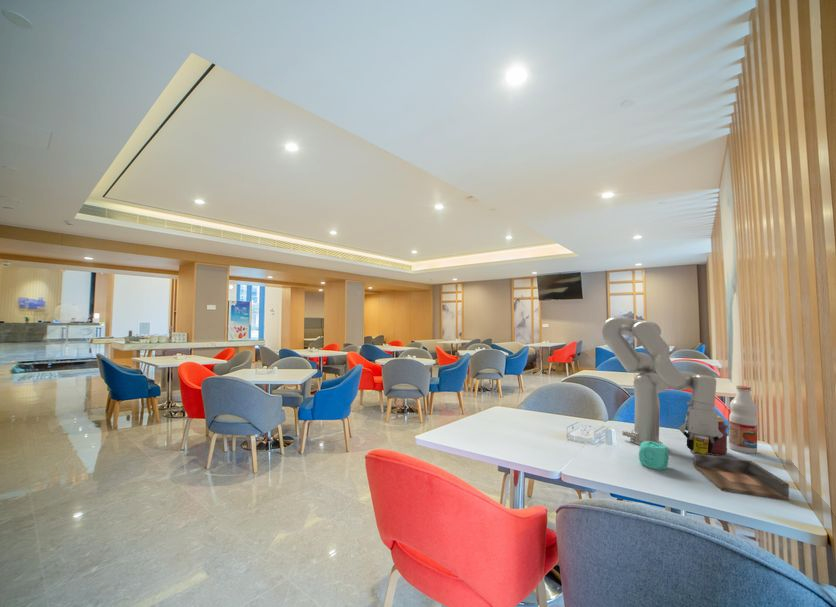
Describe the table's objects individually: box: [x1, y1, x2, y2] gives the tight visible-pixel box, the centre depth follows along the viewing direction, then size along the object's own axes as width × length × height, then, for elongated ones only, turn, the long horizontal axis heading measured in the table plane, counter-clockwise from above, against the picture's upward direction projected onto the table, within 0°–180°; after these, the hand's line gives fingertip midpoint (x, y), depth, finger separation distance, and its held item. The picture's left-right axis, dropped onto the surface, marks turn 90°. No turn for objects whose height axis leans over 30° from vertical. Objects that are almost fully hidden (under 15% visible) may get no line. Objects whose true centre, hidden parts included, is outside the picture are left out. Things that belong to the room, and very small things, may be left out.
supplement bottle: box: [689, 434, 709, 456], centre depth 149 cm, size 6×6×10 cm
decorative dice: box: [638, 441, 670, 471], centre depth 139 cm, size 8×8×8 cm
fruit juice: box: [728, 385, 758, 455], centre depth 163 cm, size 9×9×28 cm
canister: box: [708, 414, 729, 456], centre depth 160 cm, size 13×13×18 cm
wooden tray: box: [693, 454, 790, 501], centre depth 128 cm, size 18×20×5 cm
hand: (699, 449), depth 149 cm, fingers closed on supplement bottle, 5 cm apart
